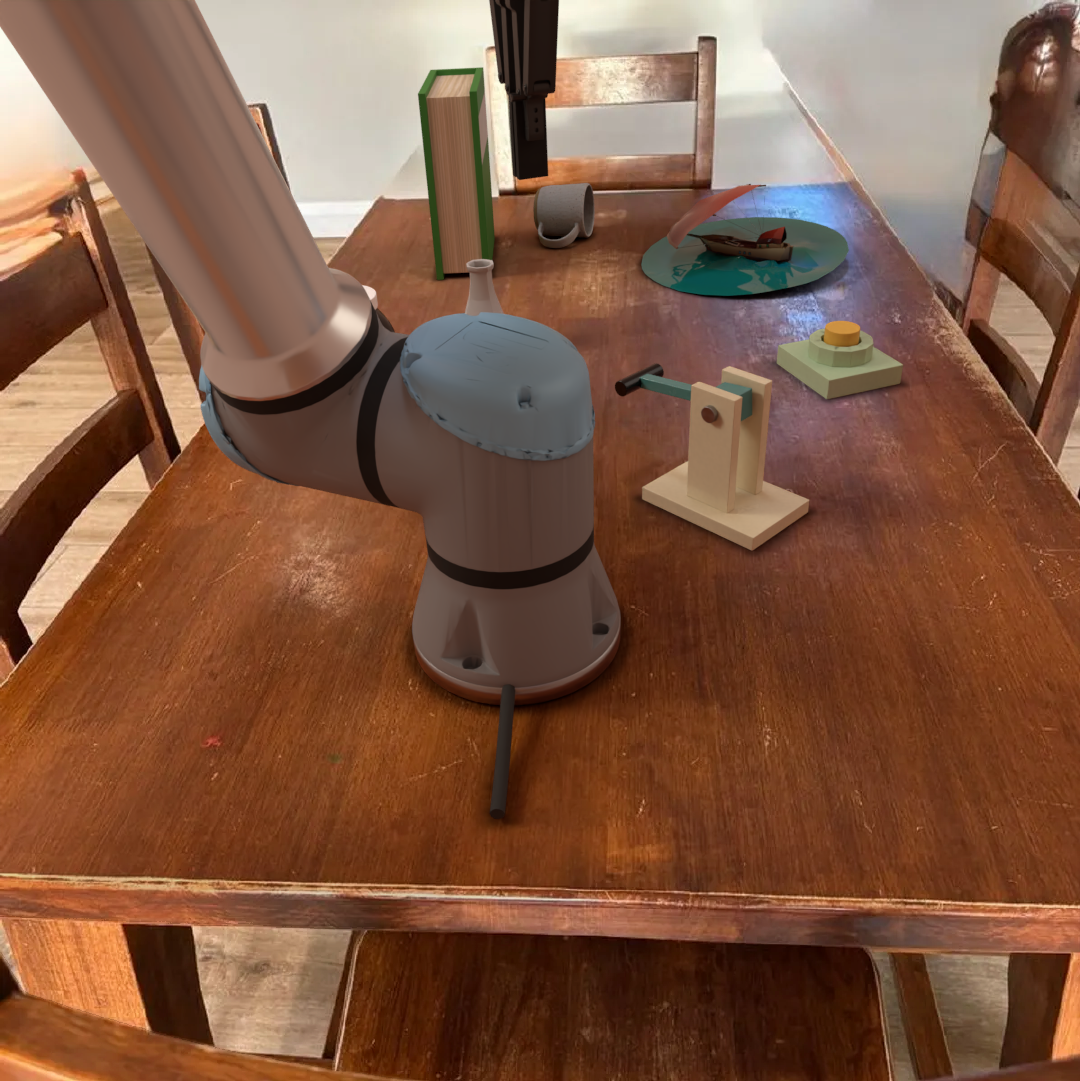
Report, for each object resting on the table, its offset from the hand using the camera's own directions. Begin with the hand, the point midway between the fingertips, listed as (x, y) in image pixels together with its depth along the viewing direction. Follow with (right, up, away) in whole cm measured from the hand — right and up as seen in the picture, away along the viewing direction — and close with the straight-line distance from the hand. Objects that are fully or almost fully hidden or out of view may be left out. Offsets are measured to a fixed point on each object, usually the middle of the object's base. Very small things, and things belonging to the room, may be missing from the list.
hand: (530, 175), depth 90 cm
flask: (-6, -9, +30) cm, 32 cm away
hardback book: (-10, +9, +57) cm, 59 cm away
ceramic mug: (+5, +13, +63) cm, 65 cm away
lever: (+13, -21, -3) cm, 25 cm away
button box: (+33, -14, +20) cm, 41 cm away
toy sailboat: (+29, +6, +50) cm, 58 cm away
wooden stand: (+17, -29, -1) cm, 34 cm away
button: (+33, -11, +18) cm, 39 cm away
